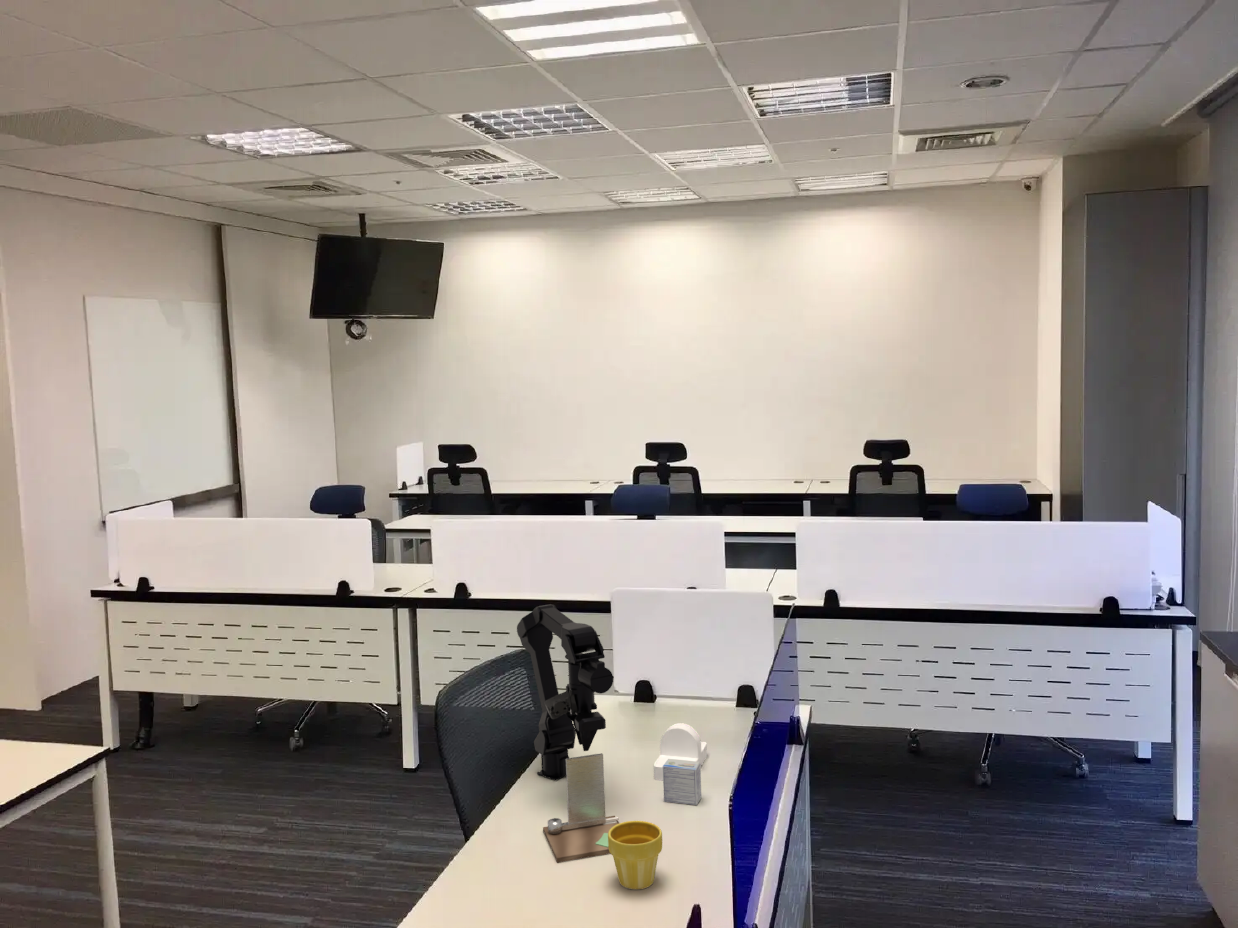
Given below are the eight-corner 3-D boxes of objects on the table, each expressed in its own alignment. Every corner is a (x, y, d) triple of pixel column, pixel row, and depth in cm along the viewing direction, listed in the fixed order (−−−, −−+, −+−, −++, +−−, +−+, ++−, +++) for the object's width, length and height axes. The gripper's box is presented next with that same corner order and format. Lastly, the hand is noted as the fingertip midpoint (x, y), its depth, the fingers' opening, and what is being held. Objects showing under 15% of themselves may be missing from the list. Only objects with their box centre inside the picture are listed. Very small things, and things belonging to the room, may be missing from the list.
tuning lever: (549, 834, 201) (546, 764, 199) (546, 828, 203) (543, 759, 202) (620, 823, 205) (618, 754, 204) (616, 817, 208) (614, 749, 206)
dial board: (557, 862, 191) (557, 856, 191) (543, 831, 205) (542, 826, 205) (633, 849, 196) (633, 843, 196) (614, 819, 209) (614, 814, 209)
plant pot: (626, 862, 191) (625, 815, 190) (672, 874, 186) (671, 826, 185) (599, 886, 182) (597, 837, 181) (647, 900, 177) (645, 849, 176)
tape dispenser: (652, 780, 230) (651, 737, 229) (671, 752, 247) (670, 711, 246) (691, 784, 227) (690, 740, 226) (707, 755, 244) (706, 714, 243)
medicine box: (701, 797, 219) (701, 761, 218) (697, 806, 215) (696, 769, 214) (668, 794, 222) (667, 757, 221) (663, 802, 217) (662, 765, 217)
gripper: (538, 673, 225) (541, 738, 226) (555, 698, 207) (558, 768, 209) (584, 668, 228) (586, 731, 230) (605, 692, 210) (607, 760, 212)
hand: (583, 747), depth 220 cm, fingers open, 4 cm apart
